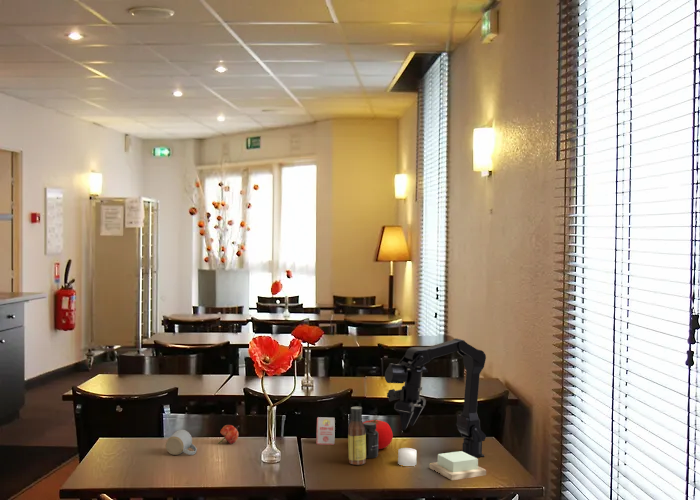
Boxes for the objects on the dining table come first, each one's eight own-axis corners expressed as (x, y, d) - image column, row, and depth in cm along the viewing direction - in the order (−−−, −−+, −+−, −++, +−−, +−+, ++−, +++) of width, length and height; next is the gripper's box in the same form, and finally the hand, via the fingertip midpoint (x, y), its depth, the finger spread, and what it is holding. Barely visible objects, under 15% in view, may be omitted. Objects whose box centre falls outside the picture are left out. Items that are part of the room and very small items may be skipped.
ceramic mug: (164, 455, 287) (164, 434, 286) (172, 448, 295) (173, 428, 294) (191, 457, 285) (192, 436, 285) (200, 451, 293) (200, 430, 293)
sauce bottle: (368, 462, 283) (369, 406, 282) (361, 466, 277) (362, 410, 277) (352, 459, 286) (353, 404, 285) (344, 464, 280) (345, 408, 279)
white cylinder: (410, 460, 286) (410, 447, 286) (419, 466, 280) (420, 452, 280) (394, 462, 283) (395, 448, 283) (403, 468, 277) (404, 453, 277)
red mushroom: (223, 452, 299) (244, 435, 301) (211, 436, 299) (233, 420, 301) (224, 448, 307) (244, 432, 308) (212, 433, 307) (233, 417, 308)
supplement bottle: (376, 459, 286) (377, 426, 286) (358, 458, 288) (358, 425, 287) (379, 454, 293) (380, 421, 293) (361, 452, 295) (362, 420, 294)
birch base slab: (462, 465, 284) (463, 458, 284) (486, 477, 271) (486, 470, 271) (429, 470, 277) (429, 463, 277) (451, 482, 265) (451, 475, 265)
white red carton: (317, 441, 308) (317, 416, 308) (334, 442, 308) (334, 416, 308) (316, 444, 305) (316, 418, 304) (333, 444, 304) (334, 418, 304)
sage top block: (461, 460, 281) (461, 451, 281) (477, 469, 272) (478, 458, 272) (437, 464, 277) (437, 454, 276) (453, 472, 268) (453, 462, 267)
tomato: (399, 446, 303) (399, 419, 303) (382, 454, 292) (382, 426, 292) (367, 440, 311) (367, 414, 311) (349, 448, 300) (350, 421, 300)
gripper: (399, 377, 293) (394, 419, 293) (382, 383, 276) (377, 427, 275) (428, 382, 289) (423, 425, 289) (413, 388, 271) (408, 433, 271)
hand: (407, 427), depth 281 cm, fingers open, 9 cm apart
